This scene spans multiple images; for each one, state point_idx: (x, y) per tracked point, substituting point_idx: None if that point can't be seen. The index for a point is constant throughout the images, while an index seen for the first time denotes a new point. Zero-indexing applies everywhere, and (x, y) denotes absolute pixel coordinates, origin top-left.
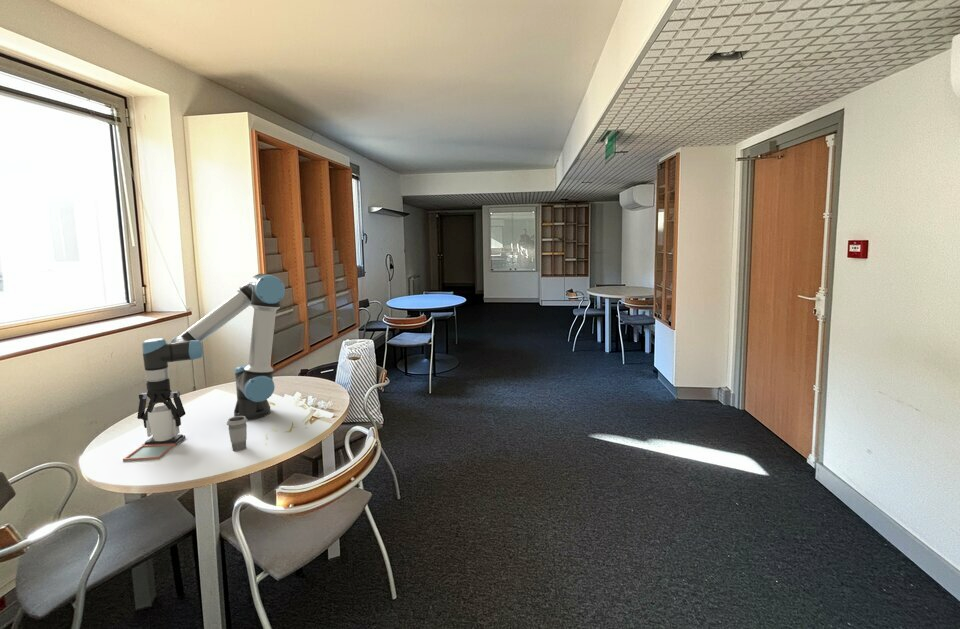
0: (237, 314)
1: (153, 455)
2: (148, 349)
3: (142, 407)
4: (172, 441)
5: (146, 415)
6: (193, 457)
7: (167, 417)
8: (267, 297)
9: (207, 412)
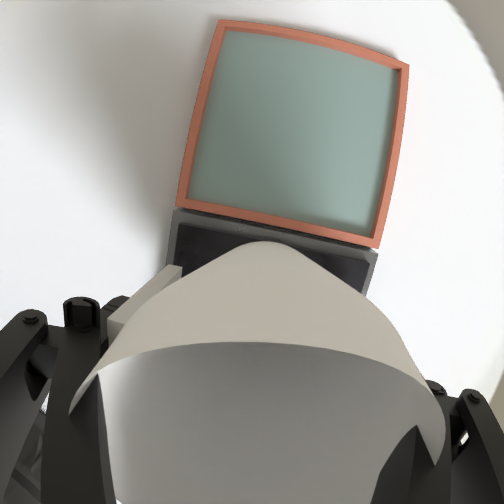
0: None
1: (265, 71)
2: None
3: (492, 486)
4: (194, 226)
5: None
6: (77, 39)
7: (139, 309)
8: None
9: None
